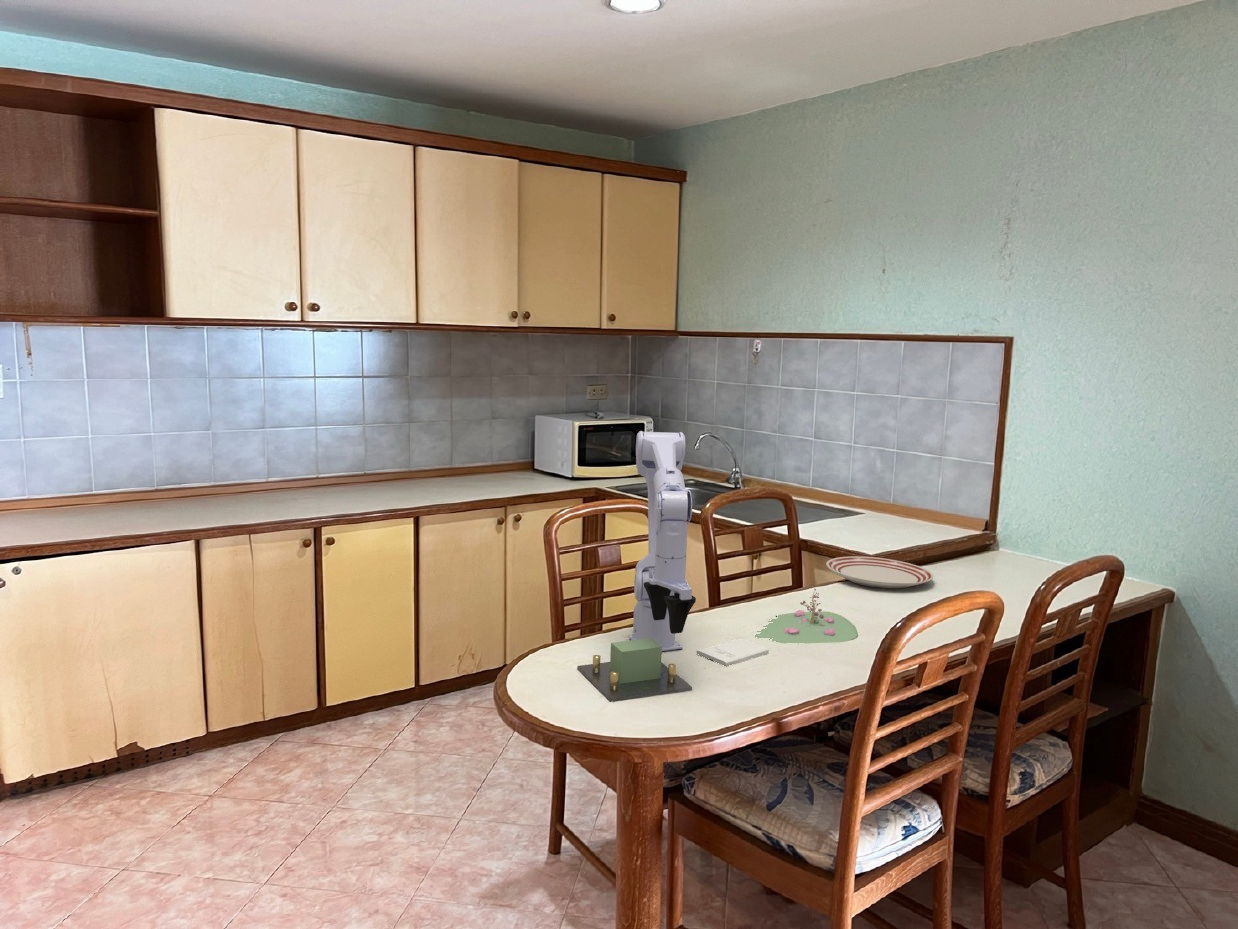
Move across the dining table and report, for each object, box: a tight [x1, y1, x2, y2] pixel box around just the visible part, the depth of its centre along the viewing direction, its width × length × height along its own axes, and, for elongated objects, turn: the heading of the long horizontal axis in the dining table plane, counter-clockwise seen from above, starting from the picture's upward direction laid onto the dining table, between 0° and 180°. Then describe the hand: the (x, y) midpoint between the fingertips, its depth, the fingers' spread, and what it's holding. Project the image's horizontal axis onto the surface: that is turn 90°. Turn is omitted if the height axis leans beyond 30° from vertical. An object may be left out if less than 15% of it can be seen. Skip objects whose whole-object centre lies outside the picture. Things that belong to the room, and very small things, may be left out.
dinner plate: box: [825, 555, 934, 589], centre depth 243 cm, size 27×27×3 cm
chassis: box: [576, 654, 693, 703], centre depth 168 cm, size 16×16×4 cm
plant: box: [754, 588, 859, 645], centre depth 199 cm, size 25×21×9 cm
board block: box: [609, 638, 663, 684], centre depth 168 cm, size 5×8×6 cm, turn 114°
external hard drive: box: [695, 637, 770, 668], centre depth 184 cm, size 2×8×12 cm
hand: (667, 626), depth 171 cm, fingers open, 7 cm apart
